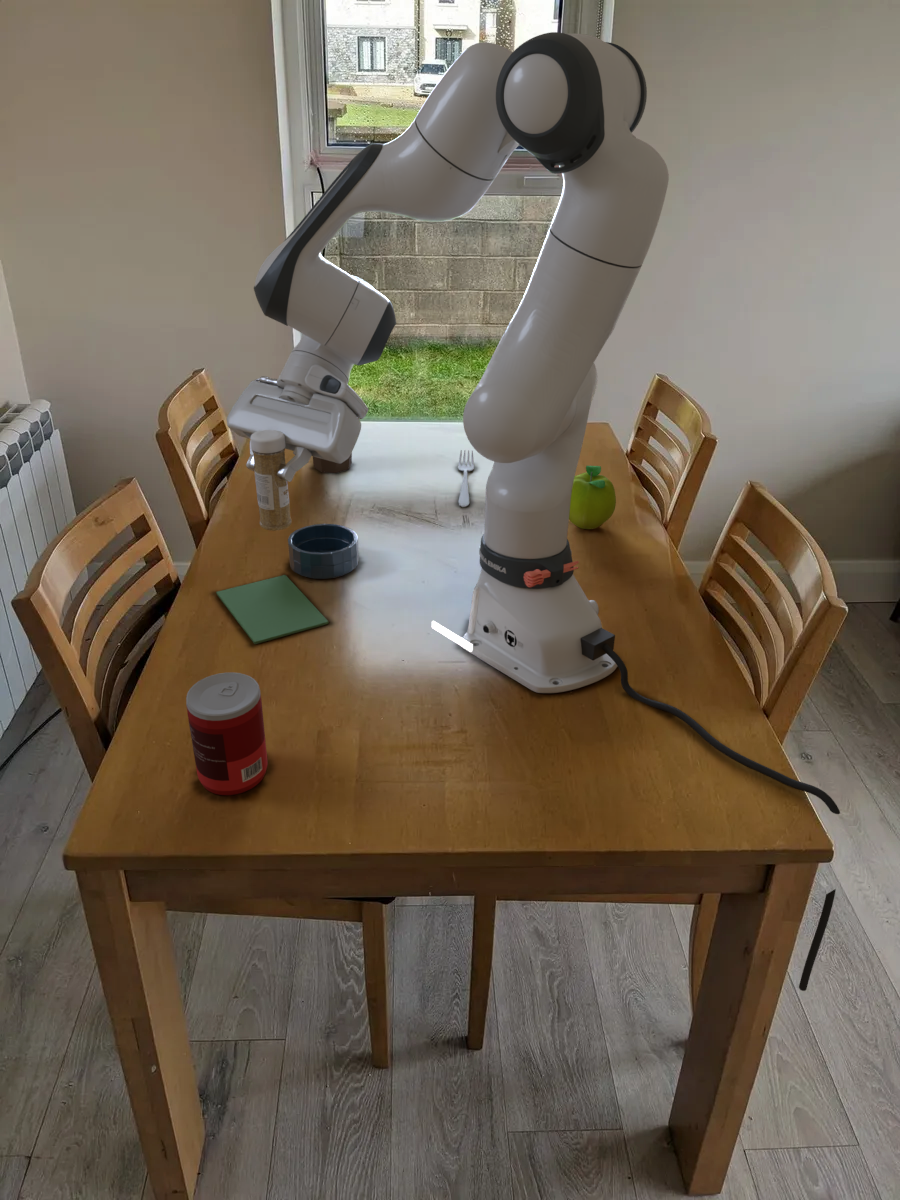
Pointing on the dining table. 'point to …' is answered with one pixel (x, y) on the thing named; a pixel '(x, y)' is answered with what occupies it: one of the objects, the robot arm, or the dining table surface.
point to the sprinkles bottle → (270, 479)
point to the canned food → (227, 732)
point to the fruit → (591, 499)
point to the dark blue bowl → (323, 551)
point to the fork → (465, 479)
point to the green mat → (271, 609)
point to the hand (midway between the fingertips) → (267, 474)
